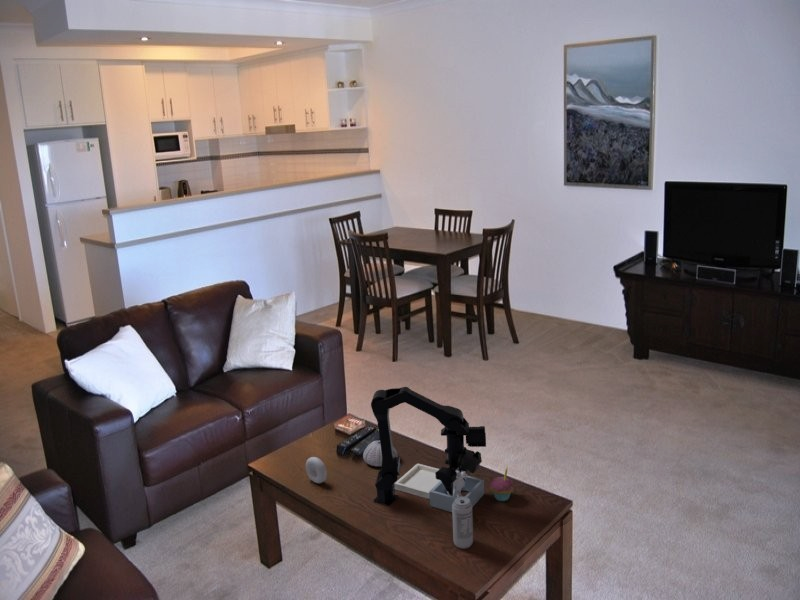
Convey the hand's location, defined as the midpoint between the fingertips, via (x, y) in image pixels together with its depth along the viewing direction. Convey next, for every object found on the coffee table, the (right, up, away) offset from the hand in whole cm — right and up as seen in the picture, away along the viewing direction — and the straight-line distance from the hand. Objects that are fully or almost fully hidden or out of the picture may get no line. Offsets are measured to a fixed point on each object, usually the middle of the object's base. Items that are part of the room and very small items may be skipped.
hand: (456, 487), depth 233 cm
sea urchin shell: (-27, +2, +31) cm, 41 cm away
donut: (-50, -3, +18) cm, 53 cm away
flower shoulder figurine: (0, -5, +1) cm, 5 cm away
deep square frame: (0, -5, +1) cm, 5 cm away
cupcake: (+15, -4, +1) cm, 16 cm away
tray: (-11, -2, +13) cm, 17 cm away
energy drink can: (0, -11, -23) cm, 25 cm away
